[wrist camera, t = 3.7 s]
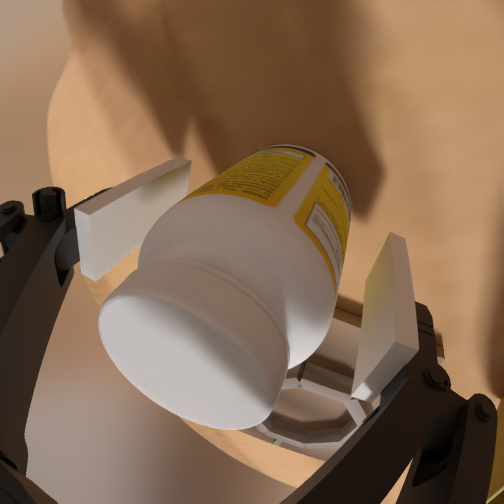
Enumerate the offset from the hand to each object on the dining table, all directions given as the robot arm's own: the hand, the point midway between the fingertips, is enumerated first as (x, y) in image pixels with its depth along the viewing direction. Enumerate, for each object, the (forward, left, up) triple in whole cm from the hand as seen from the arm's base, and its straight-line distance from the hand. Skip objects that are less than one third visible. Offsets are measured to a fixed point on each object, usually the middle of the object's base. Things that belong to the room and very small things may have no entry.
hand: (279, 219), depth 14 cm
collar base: (+14, +6, -2) cm, 15 cm away
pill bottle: (0, 0, -2) cm, 2 cm away
